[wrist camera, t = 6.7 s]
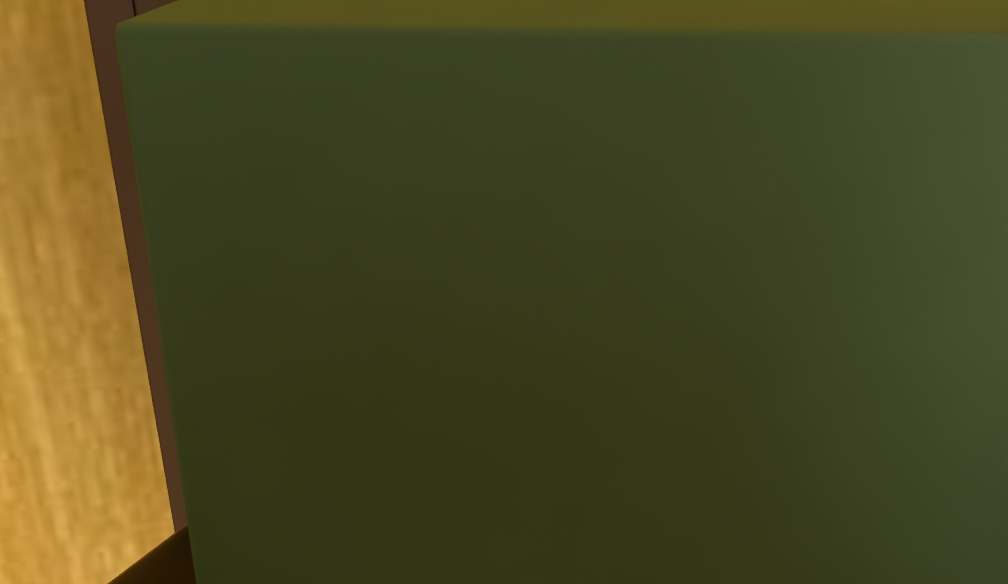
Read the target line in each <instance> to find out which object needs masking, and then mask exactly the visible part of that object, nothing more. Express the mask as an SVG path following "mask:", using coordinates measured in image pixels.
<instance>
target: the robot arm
mask: <svg viewBox="0 0 1008 584" xmlns="http://www.w3.org/2000/svg"><path fill="white" fill-rule="evenodd" d="M108 584H196V578H195V571H194V565H193V558H192V551H191V544H190V538H189V531H188V524H186V525H185V526H183V527H182V528H181V529H179V530H178V531H177V532H175V533H174V534H173V535H172V536H170V537H169V538H168V539H166V540H165V541H164V542H162V543H161V544H160V545H158V546H157V547H156V548H154V549H153V550H152V551H150V552H149V553H148V554H146V555H145V556H144V557H142V558H141V559H140V560H138V561H137V562H136V563H134V564H133V565H132V566H130V567H129V568H128V569H127V570H125V571H124V572H123V573H121V574H120V575H119V576H117V577H116V578H115V579H113V580H112V581H111V582H109V583H108Z"/></svg>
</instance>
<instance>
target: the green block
mask: <svg viewBox="0 0 1008 584" xmlns="http://www.w3.org/2000/svg"><path fill="white" fill-rule="evenodd" d="M114 34H115V41H116V48H117V55H118V61H119V68H120V75H121V81H122V88H123V95H124V102H125V108H126V115H127V122H128V128H129V135H130V142H131V148H132V155H133V162H134V169H135V175H136V182H137V189H138V195H139V202H140V209H141V216H142V222H143V229H144V236H145V242H146V249H147V256H148V263H149V269H150V276H151V283H152V289H153V296H154V303H155V310H156V316H157V323H158V330H159V336H160V343H161V350H162V357H163V363H164V370H165V377H166V383H167V390H168V397H169V404H170V410H171V417H172V424H173V430H174V437H175V444H176V450H177V457H178V464H179V471H180V477H181V484H182V491H183V497H184V504H185V511H186V518H187V524H188V531H189V538H190V544H191V551H192V558H193V565H194V571H195V578H196V584H1008V0H177V1H175V2H172V3H169V4H167V5H164V6H161V7H159V8H156V9H154V10H151V11H148V12H146V13H143V14H141V15H138V16H135V17H133V18H130V19H127V20H125V21H123V22H120V23H118V24H116V28H115V32H114Z"/></svg>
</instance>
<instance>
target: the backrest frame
mask: <svg viewBox="0 0 1008 584" xmlns="http://www.w3.org/2000/svg"><path fill="white" fill-rule="evenodd" d="M175 1H177V0H84V4H85V10H86V16H87V21H88V27H89V33H90V39H91V45H92V51H93V56H94V62H95V68H96V74H97V80H98V86H99V92H100V97H101V103H102V109H103V115H104V121H105V127H106V132H107V138H108V144H109V150H110V156H111V162H112V168H113V173H114V179H115V185H116V191H117V197H118V203H119V208H120V214H121V220H122V226H123V232H124V238H125V244H126V249H127V255H128V261H129V267H130V273H131V279H132V285H133V290H134V296H135V302H136V308H137V314H138V320H139V325H140V331H141V337H142V343H143V349H144V355H145V361H146V366H147V372H148V378H149V384H150V390H151V396H152V401H153V407H154V413H155V419H156V425H157V431H158V437H159V442H160V448H161V454H162V460H163V466H164V472H165V477H166V483H167V489H168V495H169V501H170V507H171V513H172V518H173V524H174V530H175V532H177V531H178V530H179V529H181V528H182V527H183V526H185V525H186V524H187V518H186V511H185V504H184V497H183V491H182V484H181V477H180V471H179V464H178V457H177V450H176V444H175V437H174V430H173V424H172V417H171V410H170V404H169V397H168V390H167V383H166V377H165V370H164V363H163V357H162V350H161V343H160V336H159V330H158V323H157V316H156V310H155V303H154V296H153V289H152V283H151V276H150V269H149V263H148V256H147V249H146V242H145V236H144V229H143V222H142V216H141V209H140V202H139V195H138V189H137V182H136V175H135V169H134V162H133V155H132V148H131V142H130V135H129V128H128V122H127V115H126V108H125V102H124V95H123V88H122V81H121V75H120V68H119V61H118V55H117V48H116V41H115V34H114V32H115V28H116V24H118V23H120V22H123V21H125V20H127V19H130V18H133V17H135V16H138V15H141V14H143V13H146V12H148V11H151V10H154V9H156V8H159V7H161V6H164V5H167V4H169V3H172V2H175Z"/></svg>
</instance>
